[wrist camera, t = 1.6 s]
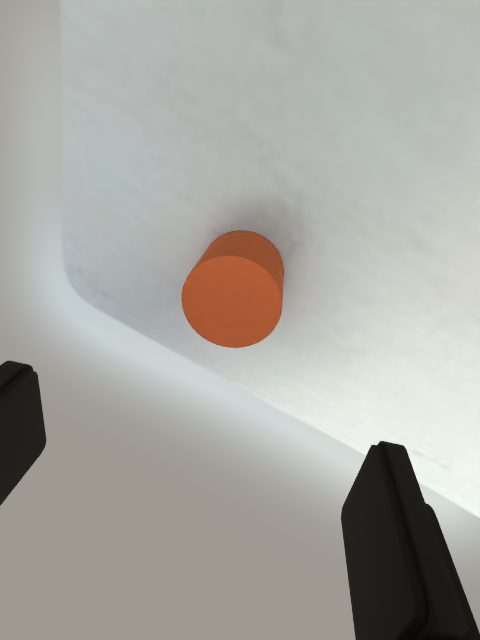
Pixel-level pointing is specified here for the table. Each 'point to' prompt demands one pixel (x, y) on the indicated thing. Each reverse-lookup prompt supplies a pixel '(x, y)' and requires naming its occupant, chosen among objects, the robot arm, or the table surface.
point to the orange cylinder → (235, 290)
